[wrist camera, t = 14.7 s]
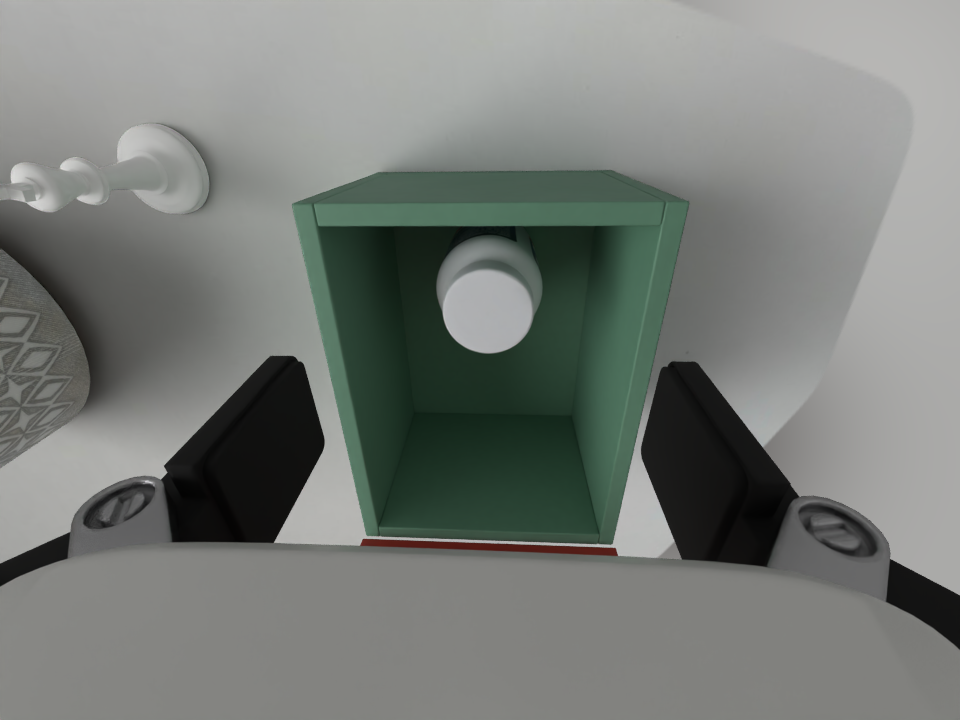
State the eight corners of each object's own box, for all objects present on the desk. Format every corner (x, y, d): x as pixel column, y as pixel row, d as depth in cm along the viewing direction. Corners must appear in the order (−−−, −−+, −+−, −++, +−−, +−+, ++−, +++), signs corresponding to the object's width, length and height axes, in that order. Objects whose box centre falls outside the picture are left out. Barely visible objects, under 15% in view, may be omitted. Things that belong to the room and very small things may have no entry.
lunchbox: (377, 172, 24) (290, 203, 14) (612, 170, 23) (691, 201, 14) (407, 413, 33) (365, 536, 23) (579, 417, 32) (612, 545, 22)
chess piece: (215, 220, 26) (70, 268, 17) (135, 205, 26) (-53, 244, 17) (203, 133, 24) (27, 137, 15) (115, 115, 23) (-116, 107, 15)
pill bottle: (432, 257, 26) (401, 313, 18) (490, 192, 24) (483, 223, 16) (493, 312, 27) (489, 385, 19) (552, 255, 25) (573, 312, 17)
